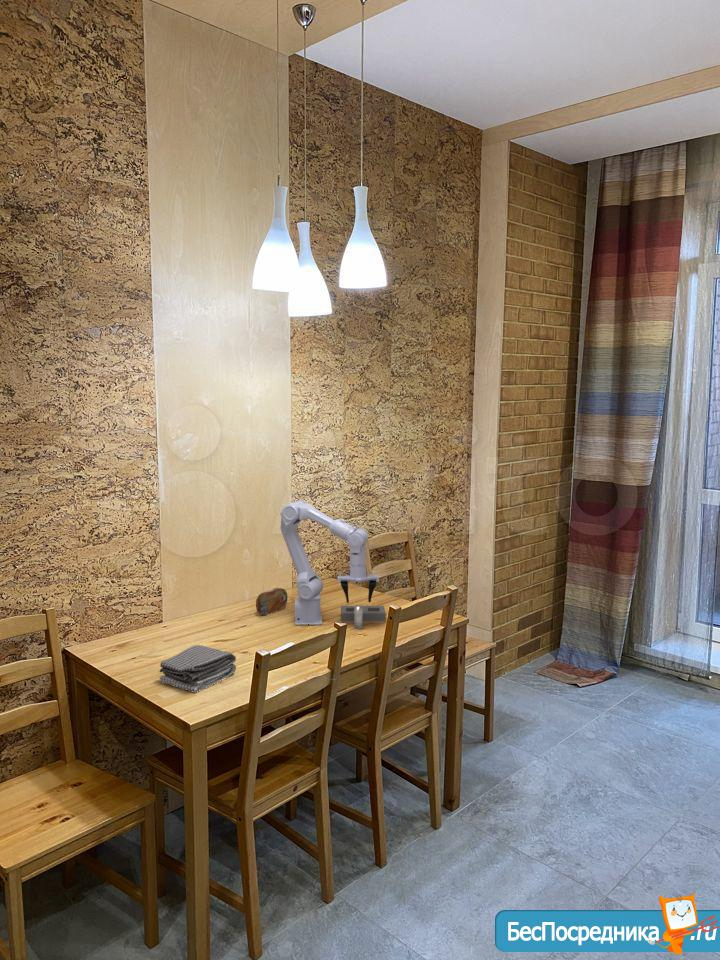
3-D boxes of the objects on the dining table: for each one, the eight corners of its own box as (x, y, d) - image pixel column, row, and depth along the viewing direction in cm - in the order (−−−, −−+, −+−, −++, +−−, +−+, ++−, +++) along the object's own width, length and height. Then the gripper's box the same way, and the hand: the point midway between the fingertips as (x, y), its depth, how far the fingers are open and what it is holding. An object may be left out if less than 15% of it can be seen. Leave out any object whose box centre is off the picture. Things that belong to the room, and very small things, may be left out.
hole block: (341, 622, 272) (341, 613, 272) (340, 614, 281) (340, 605, 280) (385, 622, 273) (385, 613, 272) (383, 614, 281) (383, 605, 281)
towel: (238, 674, 226) (237, 649, 225) (193, 695, 211) (192, 669, 210) (201, 663, 234) (201, 639, 233) (156, 683, 219) (155, 657, 218)
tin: (260, 617, 278) (260, 595, 276) (254, 616, 279) (254, 593, 278) (288, 607, 289) (288, 586, 288) (282, 606, 291) (282, 585, 290)
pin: (354, 629, 265) (354, 607, 264) (353, 626, 268) (354, 604, 267) (362, 629, 265) (362, 607, 264) (362, 626, 268) (362, 604, 267)
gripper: (337, 567, 259) (338, 605, 261) (379, 566, 260) (380, 604, 262) (337, 562, 266) (337, 599, 268) (378, 561, 267) (378, 598, 269)
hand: (358, 601), depth 265 cm, fingers open, 7 cm apart
